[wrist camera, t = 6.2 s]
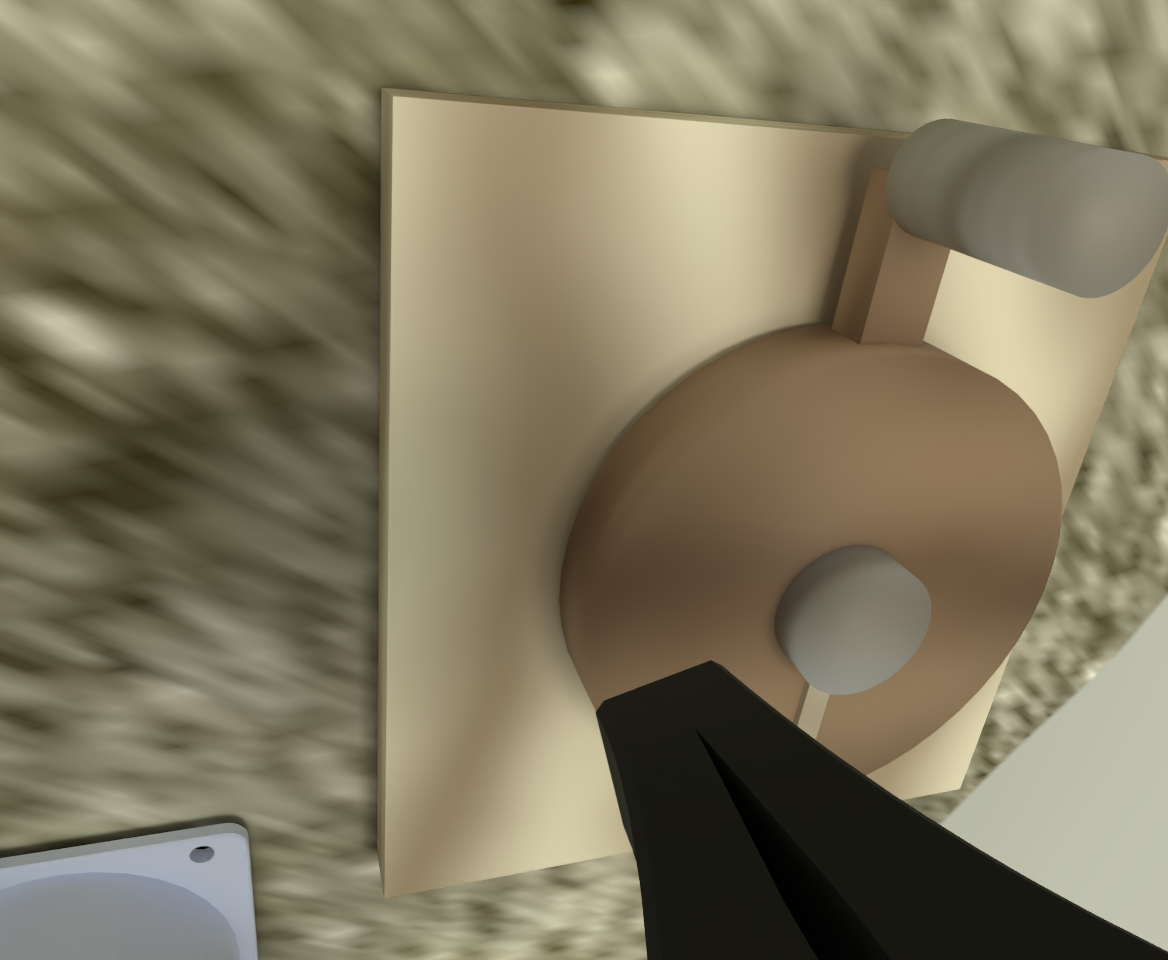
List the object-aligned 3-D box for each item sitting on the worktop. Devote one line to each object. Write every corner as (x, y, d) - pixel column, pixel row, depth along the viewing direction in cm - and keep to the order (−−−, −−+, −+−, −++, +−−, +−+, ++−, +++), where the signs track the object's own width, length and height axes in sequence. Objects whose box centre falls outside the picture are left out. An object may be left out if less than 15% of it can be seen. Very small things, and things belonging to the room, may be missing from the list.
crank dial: (921, 720, 25) (1063, 874, 21) (532, 772, 22) (605, 972, 17) (1133, 141, 19) (1403, 188, 14) (631, 73, 15) (788, 108, 11)
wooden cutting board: (377, 850, 24) (385, 902, 22) (381, 87, 16) (394, 97, 14) (928, 754, 29) (962, 791, 28) (1137, 151, 21) (1199, 163, 20)
